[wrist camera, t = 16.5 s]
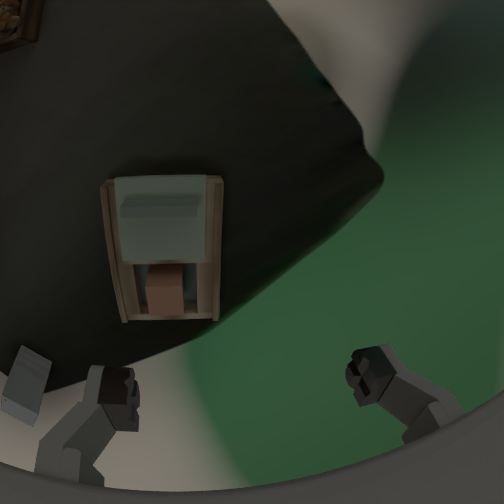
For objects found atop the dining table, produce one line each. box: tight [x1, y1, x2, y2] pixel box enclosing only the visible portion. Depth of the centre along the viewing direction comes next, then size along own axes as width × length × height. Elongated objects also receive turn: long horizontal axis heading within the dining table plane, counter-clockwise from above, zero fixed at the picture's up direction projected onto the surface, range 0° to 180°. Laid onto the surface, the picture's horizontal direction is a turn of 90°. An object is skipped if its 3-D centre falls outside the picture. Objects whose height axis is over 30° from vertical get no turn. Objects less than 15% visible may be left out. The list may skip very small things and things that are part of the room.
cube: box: [145, 265, 184, 316], centre depth 38 cm, size 4×4×5 cm
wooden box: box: [100, 176, 224, 323], centre depth 37 cm, size 14×19×4 cm
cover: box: [114, 175, 206, 261], centre depth 32 cm, size 10×10×3 cm
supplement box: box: [1, 345, 52, 427], centre depth 39 cm, size 7×7×13 cm
